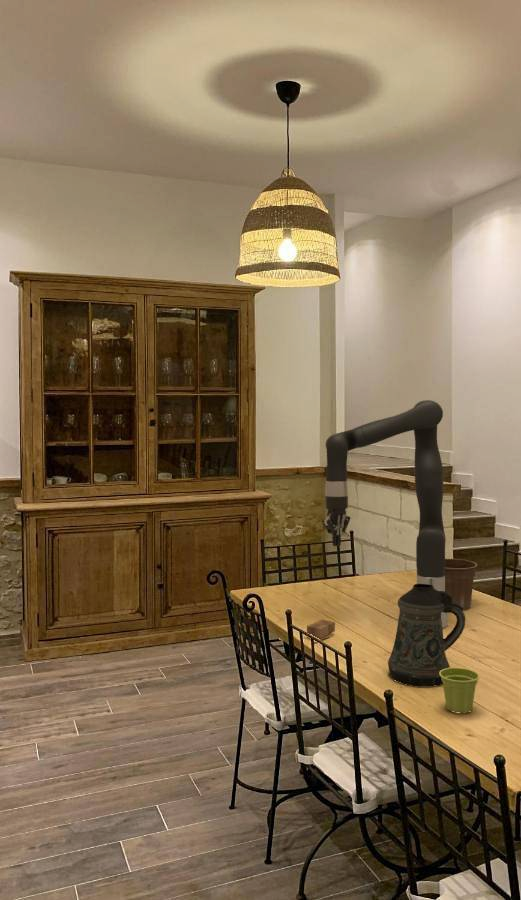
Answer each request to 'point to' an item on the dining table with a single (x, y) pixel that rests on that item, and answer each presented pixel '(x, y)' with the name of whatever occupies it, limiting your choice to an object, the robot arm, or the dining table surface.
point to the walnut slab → (321, 628)
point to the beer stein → (423, 636)
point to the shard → (325, 637)
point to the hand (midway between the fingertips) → (336, 545)
